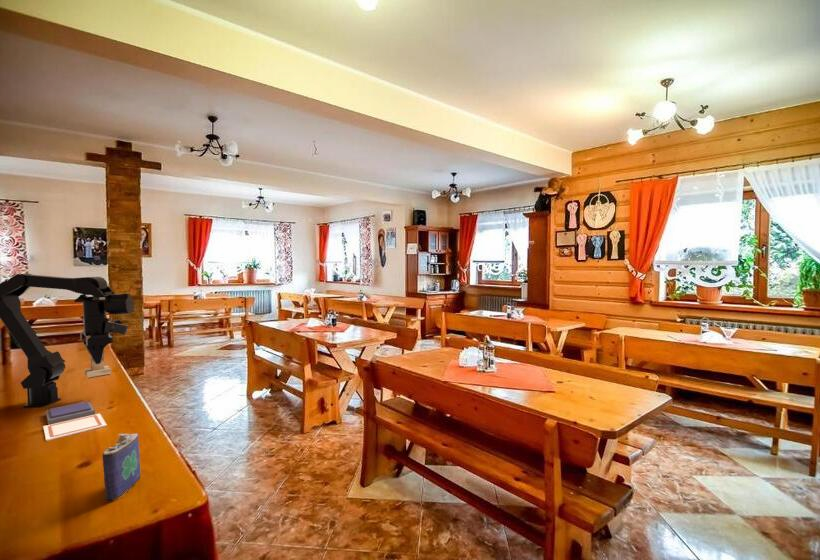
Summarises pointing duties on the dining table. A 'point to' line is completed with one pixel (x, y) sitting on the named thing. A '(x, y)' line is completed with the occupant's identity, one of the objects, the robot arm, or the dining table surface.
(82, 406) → the ink pad
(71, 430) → the print card
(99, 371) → the stamp
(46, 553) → the dining table surface
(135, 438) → the flask
